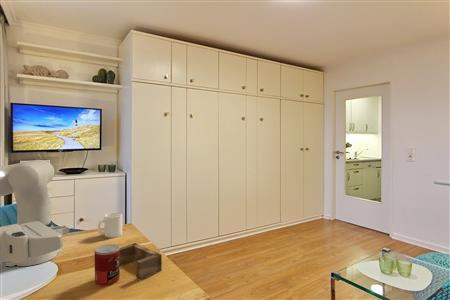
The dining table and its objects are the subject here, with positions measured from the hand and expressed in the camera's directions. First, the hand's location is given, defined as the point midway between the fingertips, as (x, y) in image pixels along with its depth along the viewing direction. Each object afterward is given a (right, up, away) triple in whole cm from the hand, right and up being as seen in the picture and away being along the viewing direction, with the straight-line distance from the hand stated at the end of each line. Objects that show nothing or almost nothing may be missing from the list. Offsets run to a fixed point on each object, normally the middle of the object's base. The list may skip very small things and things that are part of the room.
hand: (67, 229), depth 82 cm
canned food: (+7, -21, +11) cm, 24 cm away
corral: (+15, -20, +19) cm, 32 cm away
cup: (-9, -19, +53) cm, 57 cm away
